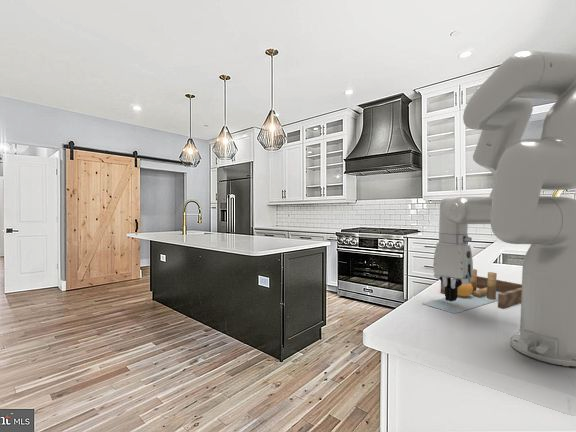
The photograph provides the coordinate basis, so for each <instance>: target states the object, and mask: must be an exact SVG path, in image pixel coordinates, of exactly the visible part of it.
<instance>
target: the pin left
mask: <svg viewBox="0 0 576 432" xmlns="http://www.w3.org/2000/svg"><path fill="white" fill-rule="evenodd" d="M477 276H478V270H477V269H474V268H473V276H472V277H471V278H470V280H471V284H472V286H473V291H472V293H471V295H473V292H474V291H476V290H477V288H476V287H477Z"/></svg>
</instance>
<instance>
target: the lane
mask: <svg viewBox="0 0 576 432" xmlns="http://www.w3.org/2000/svg"><path fill="white" fill-rule="evenodd" d="M479 289H480V288H477V290H479ZM500 293H502V292H497V291H496V299H494V300H493V299H488V298H487V295H486V296H483V297H480V298H478V297H474V296H473V295H469V296H468V297H460V296H457V299H456V300H455V301H452V302H451V301H449V300H448V301H447V300H445V297H443V298H439V299H434V300H431V301H426V302H423V303H421V304H422V305H424V304H425V305H424V306H427V305H428V306H427V307H430V306H431V307H430V308H433V309H437V310H440V309H441V310H440V311H444V312H447V313H450V314H459V313H461V312H465V311H468V310H471V309H474V308H478V307H481V306H485V305H488V304H492V303H495V302H498V294H500Z"/></svg>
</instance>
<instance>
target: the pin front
mask: <svg viewBox="0 0 576 432" xmlns="http://www.w3.org/2000/svg"><path fill="white" fill-rule="evenodd" d="M478 289H479V290H478ZM478 289H476V291H474V292H473V296H474V297H478V298H480V297H483V296H486V295H487V287H486V288H483V289H481V288H478Z"/></svg>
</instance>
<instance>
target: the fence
mask: <svg viewBox="0 0 576 432" xmlns="http://www.w3.org/2000/svg"><path fill="white" fill-rule="evenodd" d="M451 280H452V278H451ZM487 280H488V277H484V276H480V275H479V276H478V275H477V287H476V289H483V288H486V287H487ZM496 291H497V292H502V293H500V294H498V301H497V308H501V309H506V308H510V307H512V306H516V305H518V304H521V295H522V283H515V282H510V281H505V280H499V279H496ZM440 293H441V294H444V295H445V287H444V286H443V283H442V282H441V281H440Z"/></svg>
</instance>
